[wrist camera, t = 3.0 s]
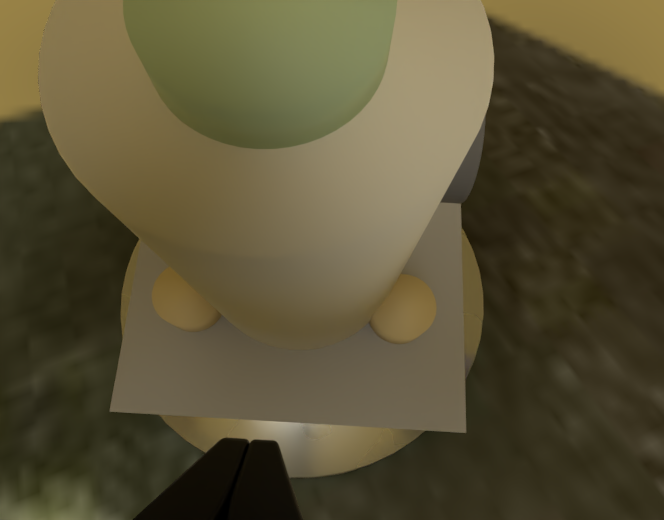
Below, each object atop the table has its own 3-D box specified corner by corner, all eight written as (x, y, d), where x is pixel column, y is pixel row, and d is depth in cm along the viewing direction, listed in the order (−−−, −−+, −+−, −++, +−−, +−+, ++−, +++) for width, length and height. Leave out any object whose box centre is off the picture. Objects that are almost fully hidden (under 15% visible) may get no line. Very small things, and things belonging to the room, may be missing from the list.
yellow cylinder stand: (455, 431, 15) (780, 483, 4) (125, 411, 15) (-370, 413, 4) (450, 140, 18) (633, -257, 7) (176, 124, 18) (-42, -292, 7)
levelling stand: (493, 490, 15) (516, 488, 14) (84, 466, 15) (53, 460, 14) (464, 163, 21) (477, 131, 20) (169, 146, 21) (155, 113, 20)
